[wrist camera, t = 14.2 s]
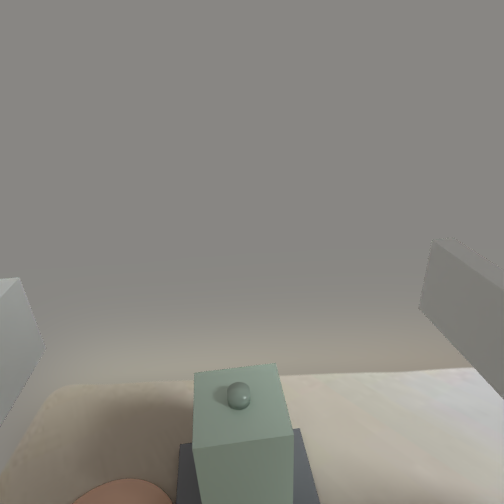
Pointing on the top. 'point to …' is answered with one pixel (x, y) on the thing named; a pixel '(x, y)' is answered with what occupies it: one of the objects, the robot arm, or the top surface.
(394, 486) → the top surface
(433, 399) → the top surface
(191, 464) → the mat
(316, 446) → the top surface
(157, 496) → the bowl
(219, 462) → the cover
